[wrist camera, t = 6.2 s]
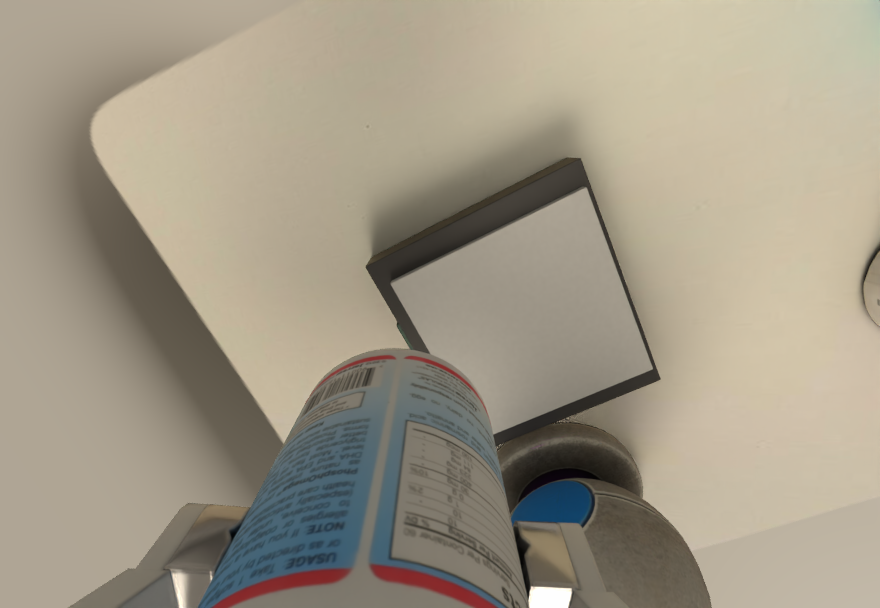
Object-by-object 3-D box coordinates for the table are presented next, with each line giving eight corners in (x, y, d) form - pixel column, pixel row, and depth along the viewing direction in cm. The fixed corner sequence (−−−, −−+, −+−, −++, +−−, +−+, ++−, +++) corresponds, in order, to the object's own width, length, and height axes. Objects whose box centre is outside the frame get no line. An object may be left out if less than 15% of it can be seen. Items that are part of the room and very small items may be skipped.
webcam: (522, 561, 37) (572, 808, 23) (450, 465, 34) (459, 691, 20) (657, 505, 35) (803, 740, 21) (597, 395, 31) (727, 593, 17)
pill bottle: (318, 497, 15) (-1, 1384, 4) (298, 341, 13) (-461, 1321, 2) (488, 496, 15) (614, 1385, 4) (496, 340, 13) (791, 1322, 2)
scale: (366, 259, 28) (358, 271, 25) (567, 157, 25) (584, 157, 22) (468, 434, 33) (471, 462, 30) (644, 362, 30) (665, 384, 27)
